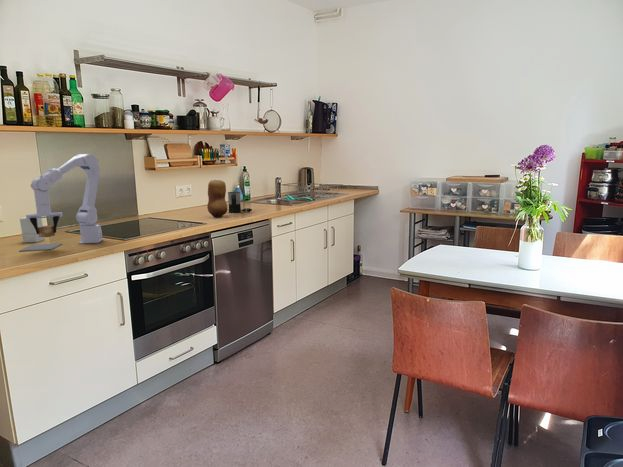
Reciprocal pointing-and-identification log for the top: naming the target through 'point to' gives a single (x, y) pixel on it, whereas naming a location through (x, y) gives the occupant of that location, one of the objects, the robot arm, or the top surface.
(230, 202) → the milk frother
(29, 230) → the supplement box
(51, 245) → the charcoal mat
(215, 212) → the butternut squash
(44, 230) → the oak cube
